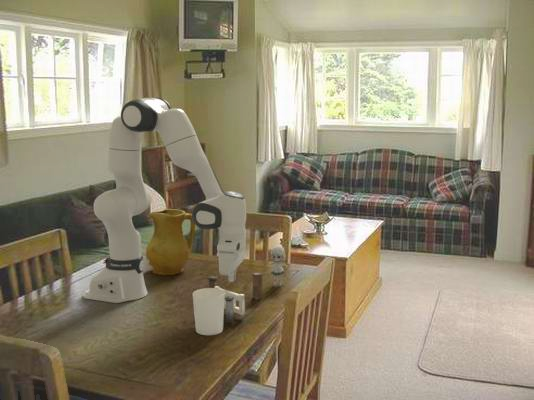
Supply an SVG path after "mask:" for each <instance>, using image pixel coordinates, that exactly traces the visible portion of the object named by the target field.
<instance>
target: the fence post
mask: <svg viewBox="0 0 534 400" xmlns="http://www.w3.org/2000/svg"><path fill="white" fill-rule="evenodd" d="M252 299H254V300H256V301H257V300H261V299H263V273H261V272H259V271H258V272H254V273H252Z"/></svg>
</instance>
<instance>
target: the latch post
mask: <svg viewBox="0 0 534 400" xmlns="http://www.w3.org/2000/svg"><path fill="white" fill-rule="evenodd" d="M225 300H226V309H225V323H227V324H232V323H234V312H233V300H234V297H232V296H227V297H225Z"/></svg>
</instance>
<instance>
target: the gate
mask: <svg viewBox="0 0 534 400" xmlns="http://www.w3.org/2000/svg"><path fill="white" fill-rule="evenodd" d="M214 288H217V289H221V290H223V291H224V292H225V297H227V296H232V297H234V300H233V313H235V314H238V315H240V316H244V315H245V314H246V303H245V302H246V300H245V299H246V295H245V294H243V293H236V292H234V291H231V290H228V289H224V288H222V287H220V286H218V285H216V286H215V287H214ZM236 301H237V302H238V306H237V303H236ZM224 310H226V300H225V298H224Z"/></svg>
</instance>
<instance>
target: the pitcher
mask: <svg viewBox="0 0 534 400" xmlns="http://www.w3.org/2000/svg"><path fill="white" fill-rule="evenodd" d="M148 216H149V217H150V218H151V220H152V222H153V223H154V224H153V225H154V228H153V229H154V230H153V234H152V237H151V238H150V240H149V242H148V244H147V246H146V252H145V256H146V259H147V260H148V262H149V263H148V265H149V266H151V267H152V268H153V270H152V274H154V275H155V274H156V275H161V276H175V275H179V274H181V273H183V272H184V268H183V267H184V266H186V264H187V263H188V261H189V260H190V259H189V258H190V255H191V252H192V249H193V245H194V239H195V233H196V232H195V231H196V225H195V224H194V222H193V219H192V213H187V212H186V211H185V210H181V209H175V208H164V209H163V210H159V211H153V212H151V213H149V215H148ZM187 219H188V220H189V221H190V229H189V235H188V240H187V239H186V237H185V235H184V231H183V223H184V221H186V220H187Z"/></svg>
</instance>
